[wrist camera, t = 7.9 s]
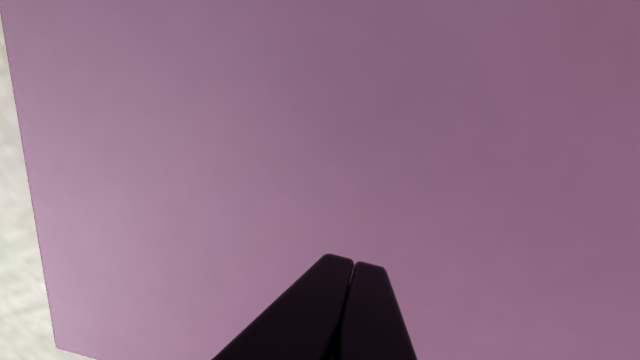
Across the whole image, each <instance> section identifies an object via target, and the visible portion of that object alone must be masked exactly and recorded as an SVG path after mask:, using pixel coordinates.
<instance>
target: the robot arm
mask: <svg viewBox="0 0 640 360" xmlns="http://www.w3.org/2000/svg"><path fill="white" fill-rule="evenodd" d="M353 268H354V269H353ZM352 272H353V273H352ZM211 360H418V359H417V356H416V353H415V351H414V348H413V345H412V342H411V339H410V336H409V334H408V331H407V328H406V325H405V322H404V319H403V316H402V314H401V311H400V308H399V305H398V302H397V299H396V296H395V294H394V291H393V288H392V285H391V282H390V279H389V277H388V274H387V271H386V269H385V268H384V267H382V266H378V265H374V264H370V263H366V262H362V261H358V262H356V263H355V265H354V261H353V260H352V259H350V258H346V257H342V256H338V255H334V254H330V253H327V254H325V255H323V256H322V257H321V258H320V259H319V260H318V261H317V262H315V263H314V264H313V265H312V266H311V267H310V268H309V269H308V270H307V271H306V272H305V273H304V274H303V275H302V276H300V277H299V278H298V279H297V280H296V281H295V282H294V283H293V284H292V285H291V286H290V287H289V288H288V289H287V290H285V291H284V292H283V293H282V294H281V295H280V296H279V297H278V298H277V299H276V300H275V301H274V302H273V303H271V304H270V305H269V306H268V307H267V308H266V309H265V310H264V311H263V312H262V313H261V314H260V315H259V316H258V317H256V318H255V319H254V320H253V321H252V322H251V323H250V324H249V325H248V326H247V327H246V328H245V329H244V330H242V331H241V332H240V333H239V334H238V335H237V336H236V337H235V338H234V339H233V340H232V341H231V342H230V343H229V344H227V345H226V346H225V347H224V348H223V349H222V350H221V351H220V352H219V353H218V354H217V355H216V356H215V357H213V358H212V359H211Z"/></svg>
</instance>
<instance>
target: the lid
mask: <svg viewBox="0 0 640 360" xmlns="http://www.w3.org/2000/svg"><path fill="white" fill-rule="evenodd" d="M0 14H1V20H2V26H3V32H4V38H5V44H6V50H7V56H8V62H9V68H10V74H11V80H12V86H13V92H14V98H15V104H16V110H17V116H18V122H19V128H20V134H21V140H22V146H23V152H24V158H25V164H26V170H27V176H28V182H29V188H30V194H31V200H32V206H33V212H34V218H35V224H36V230H37V236H38V242H39V248H40V254H41V260H42V266H43V272H44V278H45V284H46V290H47V296H48V302H49V308H50V314H51V320H52V326H53V332H54V338H55V344H56V347H57V348H59V349H62V350H66V351H69V352H73V353H76V354H80V355H83V356H87V357H90V358H94V359H97V360H211V359H212V358H213V357H215V356H216V355H217V354H218V353H219V352H220V351H221V350H222V349H223V348H224V347H225V346H226V345H227V344H229V343H230V342H231V341H232V340H233V339H234V338H235V337H236V336H237V335H238V334H239V333H240V332H241V331H242V330H244V329H245V328H246V327H247V326H248V325H249V324H250V323H251V322H252V321H253V320H254V319H255V318H256V317H258V316H259V315H260V314H261V313H262V312H263V311H264V310H265V309H266V308H267V307H268V306H269V305H270V304H271V303H273V302H274V301H275V300H276V299H277V298H278V297H279V296H280V295H281V294H282V293H283V292H284V291H285V290H287V289H288V288H289V287H290V286H291V285H292V284H293V283H294V282H295V281H296V280H297V279H298V278H299V277H300V276H302V275H303V274H304V273H305V272H306V271H307V270H308V269H309V268H310V267H311V266H312V265H313V264H314V263H315V262H317V261H318V260H319V259H320V258H321V257H322V256H323V255H325V254H327V253H330V254H334V255H338V256H342V257H346V258H350V259H352V260H353V261H354V265H355V263H356V262H358V261H362V262H366V263H370V264H374V265H378V266H382V267H384V268H385V269H386V271H387V274H388V277H389V279H390V282H391V285H392V288H393V291H394V294H395V296H396V299H397V302H398V305H399V308H400V311H401V314H402V316H403V319H404V322H405V325H406V328H407V331H408V334H409V336H410V339H411V342H412V345H413V348H414V351H415V353H416V356H417V359H418V360H640V0H0ZM353 269H354V268H353ZM352 273H353V272H352Z"/></svg>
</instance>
